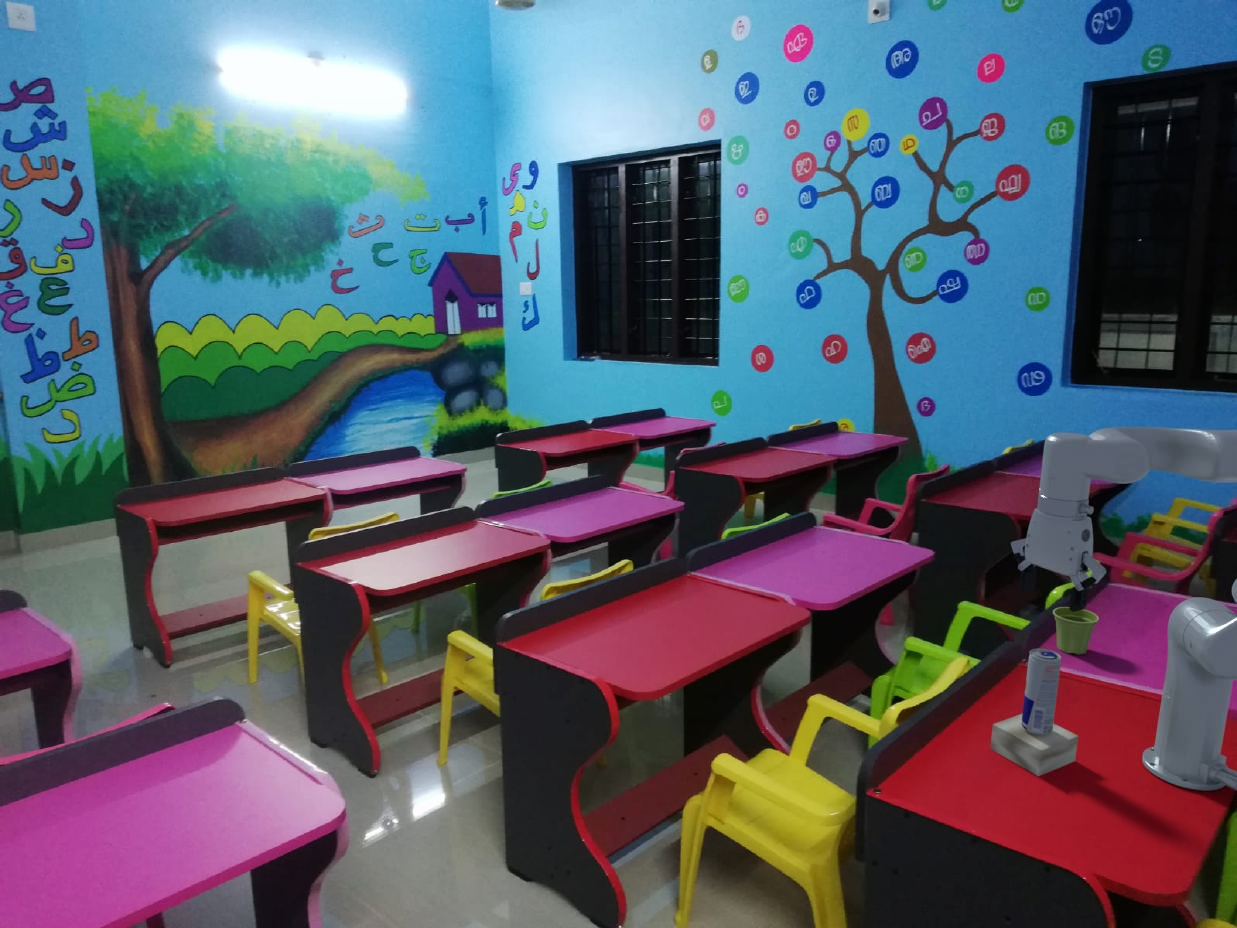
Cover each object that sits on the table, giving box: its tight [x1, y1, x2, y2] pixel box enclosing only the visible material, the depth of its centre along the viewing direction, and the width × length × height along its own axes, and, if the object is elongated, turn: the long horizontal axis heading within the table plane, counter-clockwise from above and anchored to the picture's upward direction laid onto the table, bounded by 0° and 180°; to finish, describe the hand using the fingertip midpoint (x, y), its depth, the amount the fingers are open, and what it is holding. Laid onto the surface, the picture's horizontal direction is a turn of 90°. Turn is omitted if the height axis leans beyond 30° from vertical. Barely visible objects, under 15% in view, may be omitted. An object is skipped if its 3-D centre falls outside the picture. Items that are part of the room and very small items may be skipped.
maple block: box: [990, 713, 1079, 777], centre depth 158 cm, size 10×10×5 cm
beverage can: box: [1021, 648, 1062, 736], centre depth 156 cm, size 5×5×15 cm
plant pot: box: [1052, 606, 1100, 656], centre depth 201 cm, size 9×9×9 cm
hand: (1051, 600), depth 152 cm, fingers open, 9 cm apart
